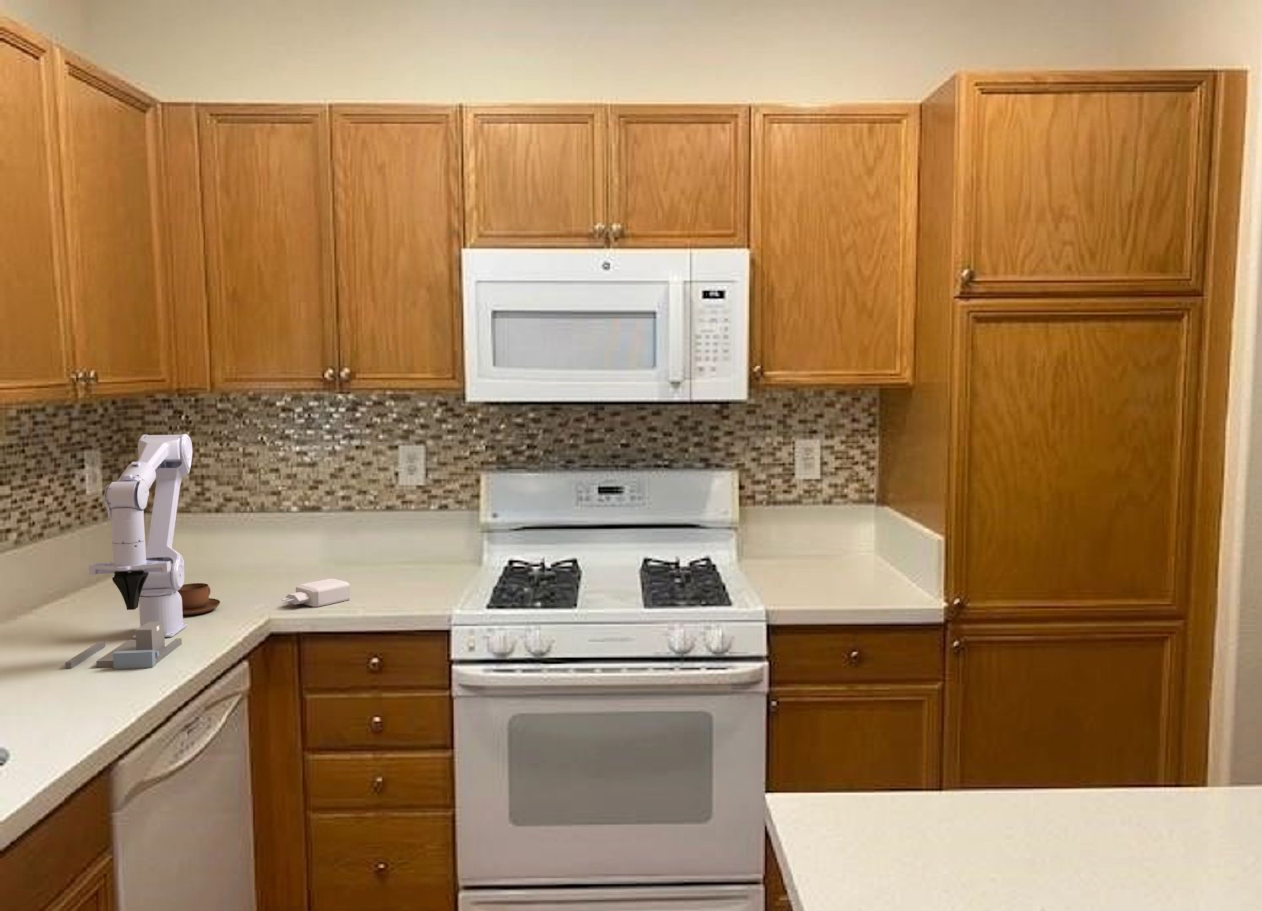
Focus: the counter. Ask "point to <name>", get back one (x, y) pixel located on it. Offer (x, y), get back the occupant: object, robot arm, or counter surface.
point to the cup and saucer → (196, 599)
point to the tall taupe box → (150, 636)
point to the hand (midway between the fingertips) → (132, 608)
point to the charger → (320, 593)
